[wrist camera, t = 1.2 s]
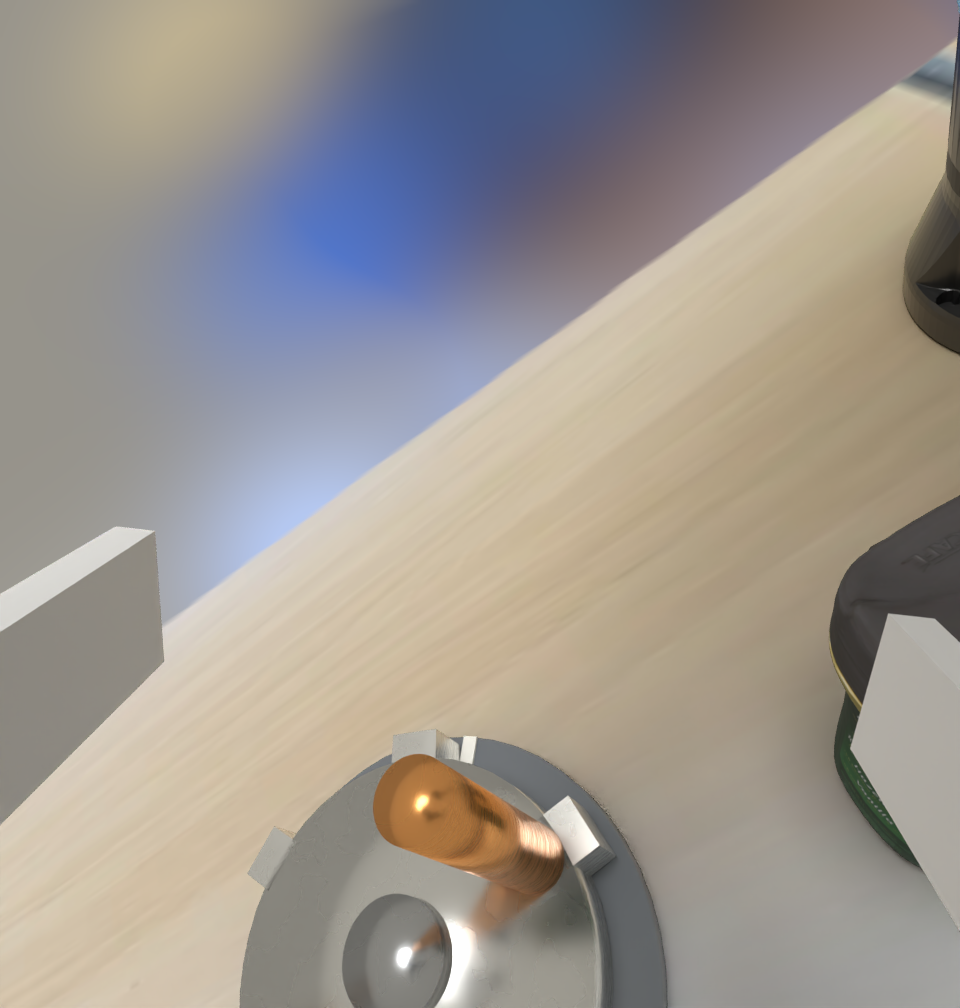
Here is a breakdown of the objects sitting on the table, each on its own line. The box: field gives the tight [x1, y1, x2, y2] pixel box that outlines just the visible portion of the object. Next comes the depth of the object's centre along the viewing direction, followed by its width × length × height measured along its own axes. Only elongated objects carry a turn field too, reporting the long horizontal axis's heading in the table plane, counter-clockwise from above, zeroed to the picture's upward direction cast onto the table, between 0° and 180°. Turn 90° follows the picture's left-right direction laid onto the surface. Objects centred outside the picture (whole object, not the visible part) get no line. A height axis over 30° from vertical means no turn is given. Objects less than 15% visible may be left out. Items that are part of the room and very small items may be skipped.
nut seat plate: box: [341, 736, 667, 1008], centre depth 36 cm, size 22×22×2 cm
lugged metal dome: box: [240, 729, 616, 1008], centre depth 30 cm, size 21×19×15 cm
